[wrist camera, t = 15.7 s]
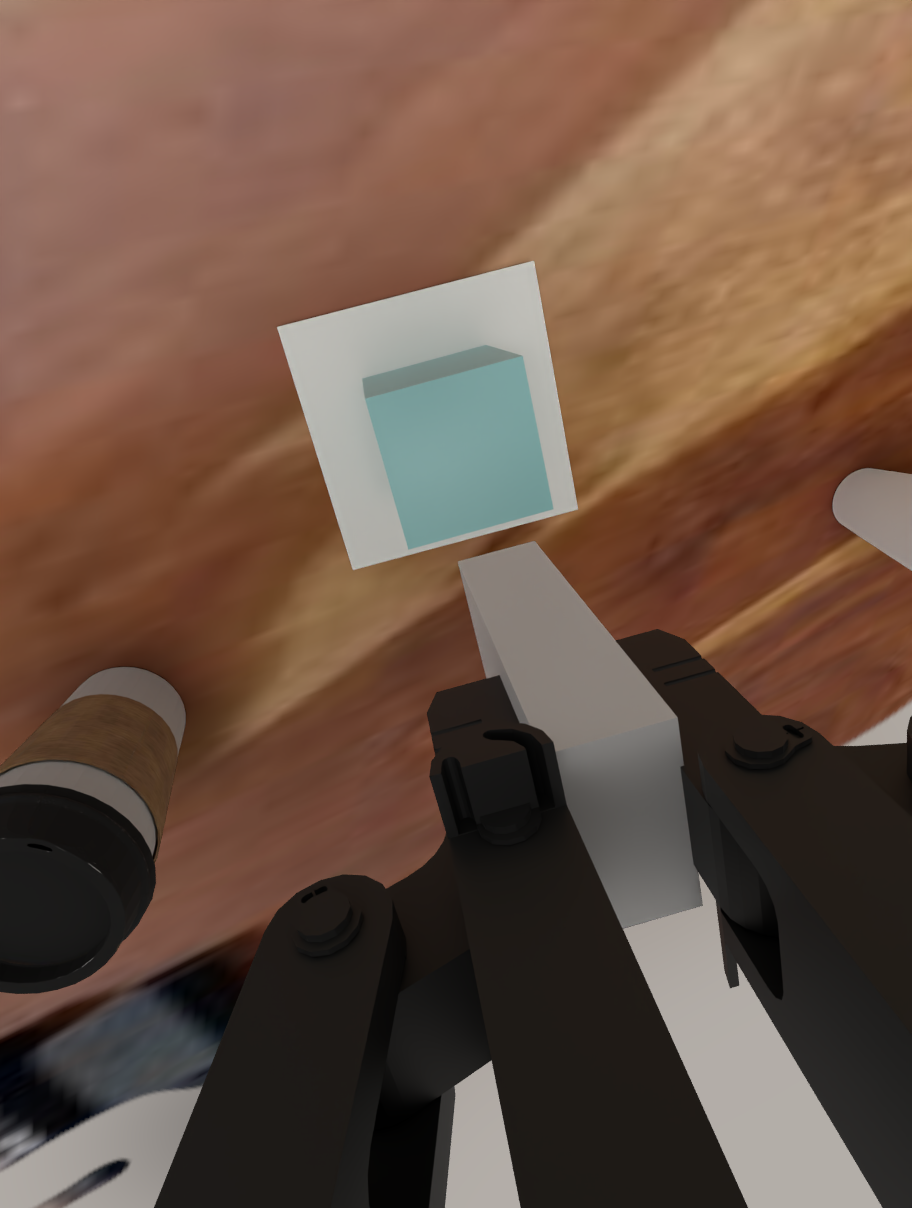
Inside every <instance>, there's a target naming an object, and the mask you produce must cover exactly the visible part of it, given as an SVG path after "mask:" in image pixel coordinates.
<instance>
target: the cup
mask: <svg viewBox="0 0 912 1208" xmlns="http://www.w3.org/2000/svg"><path fill="white" fill-rule="evenodd" d="M832 507H833V513H834V516H835V518H836V519H837V521H838V522H839V523H840V524H842V525H843V526H845V527H846V528H848V529H849V530H851V531H852V532H854V533H855V534H857V535H858V536H859V537H861V538H862V539H864V540H865V541H867V542H868V543H870V544H872V545H873V546H875V547H876V548H878V549H879V550H881V551H882V552H884V553H885V554H887V555H888V556H890V557H891V558H893V559H894V560H896V561H898V562H899V563H901V564H902V565H904V566H905V567H907V568H908V569H910V570H911V571H912V474H907V473H900V472H894V471H886V470H879V469H873V468H865V469H860V470H857V471H855V472H853V473H851V474H850V475H848V476H847V477H846V478H845V479H844V480H843V481H842V482H841V483H840V485H839V486H838V488H837V490H836V492H835V494H834V498H833V505H832Z"/></svg>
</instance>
